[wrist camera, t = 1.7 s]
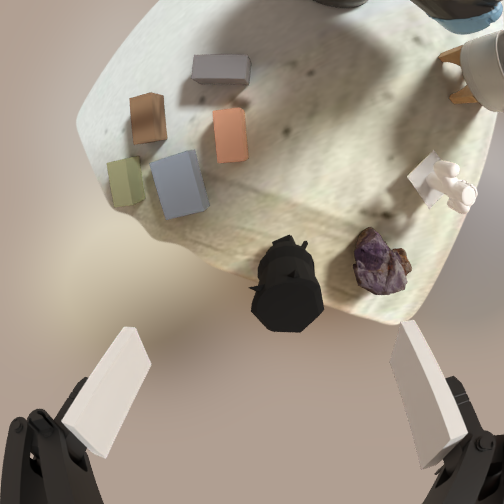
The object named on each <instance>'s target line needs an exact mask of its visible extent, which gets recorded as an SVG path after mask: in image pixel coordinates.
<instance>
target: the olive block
mask: <svg viewBox="0 0 504 504" xmlns="http://www.w3.org/2000/svg"><path fill="white" fill-rule="evenodd" d="M107 169H108V175H109V182H110V187H111V193H112V198H113V203H114V208H116V207H123V206H131V205H134V204H136V203H138V202H140V201H141V200H143V199H145V193H144V187H143V181H142V174H141V167H140V160H139V156H136V157H131V158H127V159H122V160H118V161H114V162H109V163H107Z"/></svg>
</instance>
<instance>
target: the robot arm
mask: <svg viewBox="0 0 504 504" xmlns="http://www.w3.org/2000/svg"><path fill="white" fill-rule="evenodd" d="M313 1H316V2H318V3H321V4H324V5H327V6H332V7H339V8H350V7H356V6H360V5H362V4H364V3H366V2H367V1H368V0H313ZM410 1H412V2H413V3H414V4H416V5H417V6H418V7H420V8H421V9H422V10H423V11H425V12H426V14H427V15H428V16H429V17H431V18H432V19H434V20H436V21H437V22H438V23H440V24H441V25H442V26H443V27H444V28H445V29H447V30H449V31H450V32H453V33H455V34H471V33H475V32H478V31H481V30H483V29H485V28H487V27H488V26H490V25H489V24H490V23H492V22H495V21H496V20H497V19H498V18H499V17H500V16H501V14H502V11H503V6H502V4H501V2H500V1H502V0H410ZM390 365H391V368H392V371H393V374H394V377H395V379H396V382H397V385H398V388H399V391H400V394H401V397H402V401H403V404H404V407H405V410H406V414H407V417H408V421H409V424H410V428H411V431H412V435H413V439H414V443H415V446H416V450H417V454H418V458H419V463H420V467H421V470H422V469H425V468H428V467H431V466H434V465H437V464H438V463H439V462H440V461H441V460H442V459H443V461H444V465H443V466H442V467H441V468H440V469H438V471H437V472H436V473H435V475H437V474H438V473H439V472H440V473H439V475H438V477H437V479H436V481H435V483H434V484H433V486H432V488H431V490H430V491H429V493H428V495H427V497H426V499H425V500H424V502H423V503H422V504H504V435H496V436H495V435H493V434H492V433H490V432H488V431H484V430H483V429H482V427H481V425H480V422H479V420H478V418H477V415H476V413H475V411H474V409H473V406H472V404H471V402H470V401H469V398H468V395H467V394H466V391H465V389H464V387H463V385H462V383H461V382H460V381H459V380H457V378H456V377H454V376H452V377H449V378H444V375H443V373H442V371H441V369H440V367H439V365H438V363H437V361H436V359H435V357H434V355H433V353H432V351H431V349H430V348H429V346H428V344H427V342H426V340H425V338H424V336H423V335H422V333H421V331H420V329H419V327H418V326H417V324H416V322H415V321H414V320H411V321H403V322H400V326H399V330H398V334H397V338H396V342H395V345H394V348H393V352H392V355H391V359H390ZM150 366H151V362H150V360H149V358H148V356H147V353H146V351H145V349H144V347H143V344H142V342H141V339H140V337H139V335H138V332H137V330H136V328H134V327H123V329H122V330H121V332H120V333H119V334H118V336H117V337H116V339H115V340H114V341H113V343H112V344H111V346H110V347H109V349H108V350H107V351H106V353H105V354H104V356H103V357H102V359H101V360H100V362H99V363H98V365H97V366H96V368H95V369H94V371H93V372H92V374H91V375H90V377H89V378H87V377H84V378H83V379H82V380H81V381H80V382H78V383H77V385H76V386H75V388H74V389H73V392H71V394H70V396H69V398H67V400H66V402H65V403H64V405H63V406H62V408H61V409H60V411H59V413H58V414H57V416H56V417H55V419H54V420H53V419H52V418H51V417H50V416H49V414H48V413H47V412H46V411H45V410H43V409H36V410H34V411H32V412H31V413H30V414H29V416H28V418H27V420H26V419H24V418H23V417H17V418H16V419H14V420H13V421H12V422H11V424H10V427H9V433H8V437H7V443H6V448H5V455H4V461H3V469H2V480H1V493H0V504H104V503H103V501H102V498H101V495H100V493H99V490H98V487H97V484H96V481H95V478H94V475H93V471H92V468H91V465H90V461H89V458H88V455H87V453H86V452H85V451H86V449H87V448H88V449H89V450H90V451H91V452H92V453H93V454H96V455H98V456H101V457H103V458H107V455H108V453H109V451H110V449H111V446H112V444H113V442H114V440H115V438H116V436H117V434H118V432H119V429H120V427H121V425H122V423H123V421H124V419H125V417H126V415H127V413H128V411H129V409H130V407H131V405H132V402H133V400H134V398H135V396H136V394H137V392H138V390H139V388H140V386H141V384H142V382H143V380H144V378H145V376H146V374H147V372H148V370H149V368H150ZM30 452H31V453H32V454H33V455H34V457H33V459H31V458H30Z"/></svg>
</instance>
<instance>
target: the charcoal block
mask: <svg viewBox="0 0 504 504" xmlns="http://www.w3.org/2000/svg"><path fill="white" fill-rule="evenodd" d="M250 70H251V61H250V59H249V57H248V55H236V54H210V55H194V59H193V67H192V75H191V79H193V80H194V81H196V82H198V83H200V84H237V85H249V79H250Z"/></svg>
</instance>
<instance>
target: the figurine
mask: <svg viewBox="0 0 504 504" xmlns="http://www.w3.org/2000/svg"><path fill="white" fill-rule="evenodd" d="M459 171H460V168H459V166H458V165H457V164H455V163H452V162H448V161H443V160H441V159H440V158H439V156H438V155H437V153H436V152H435V150H433V151H432V152H431V153H430V154H429V155H428V156H426V157H425V158H424V159H423V160H422V161H421V162H420V163H419V164H418V165H417V166H416V167H415V168H414V169H413V170H412V171H411V172H410V173H409V174H408V176H407V178H408V179H409V180H410V182H411V183H412V184H413V186H414V187H415V189H416V190H417V192H418V193H419V195H420V196H421V197H422V199H423V200H424V202H425V203H426V205H427V207H428V208H429V209H430V208H431V207H432V206H433V205H434V204H435V203H436V202H437V201H438V200H439V199H440V198H441V197H442V196H443V195H444V194H446V195H447V196H448V197H449V200H448V202H447V205H448V207H450V208H451V209H453V210H455V211H457V212H458V213H461V214H466V213H467V212H469V210H470V206H471V205H473V203H474V202H475V199H476V197H477V189H476V187H475V186H473V185H472V184H469V183H467V182H466V181H465V180H458V179H457V178H456V176H457V175H458V174H459Z"/></svg>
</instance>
